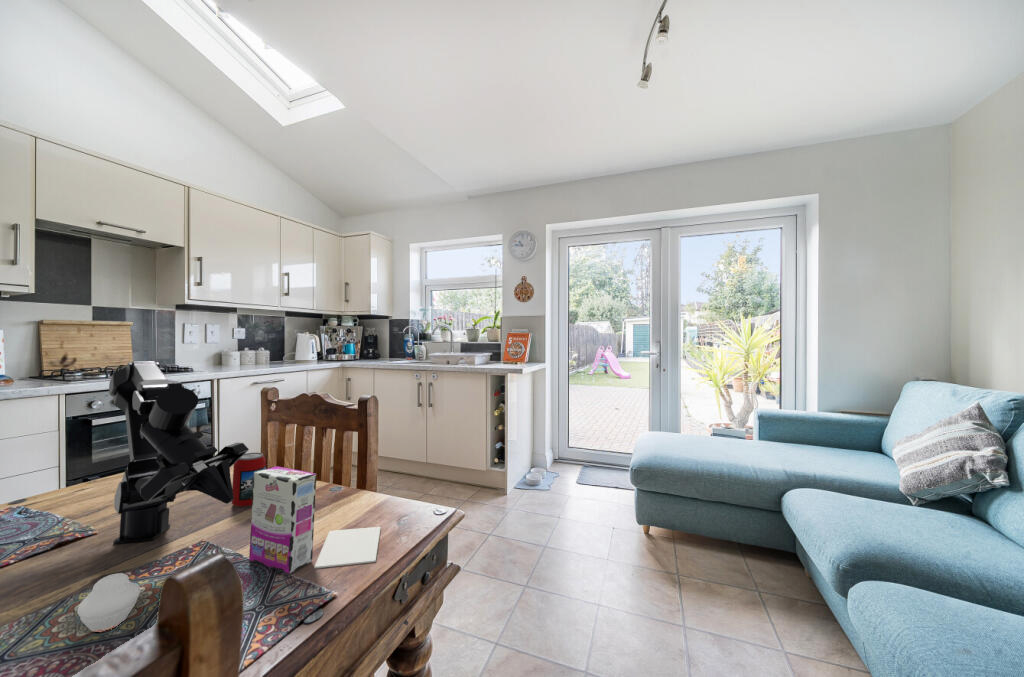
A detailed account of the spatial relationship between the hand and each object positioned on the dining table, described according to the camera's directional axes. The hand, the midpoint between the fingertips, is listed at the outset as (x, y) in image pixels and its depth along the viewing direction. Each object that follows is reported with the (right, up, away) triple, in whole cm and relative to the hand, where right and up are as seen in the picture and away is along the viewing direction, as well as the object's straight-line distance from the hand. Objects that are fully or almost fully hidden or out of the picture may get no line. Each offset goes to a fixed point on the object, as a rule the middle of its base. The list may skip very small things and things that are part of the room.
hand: (230, 501), depth 71 cm
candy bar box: (+10, -11, 0) cm, 15 cm away
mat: (+20, -11, +6) cm, 24 cm away
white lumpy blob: (-4, -10, -17) cm, 21 cm away
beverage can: (-14, -11, +25) cm, 30 cm away
